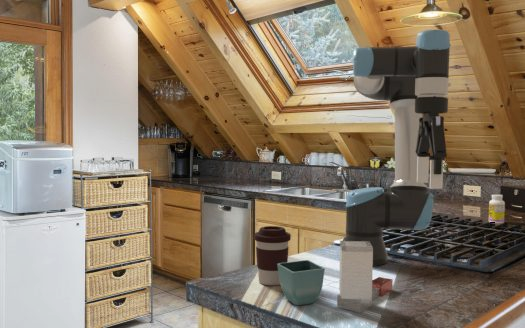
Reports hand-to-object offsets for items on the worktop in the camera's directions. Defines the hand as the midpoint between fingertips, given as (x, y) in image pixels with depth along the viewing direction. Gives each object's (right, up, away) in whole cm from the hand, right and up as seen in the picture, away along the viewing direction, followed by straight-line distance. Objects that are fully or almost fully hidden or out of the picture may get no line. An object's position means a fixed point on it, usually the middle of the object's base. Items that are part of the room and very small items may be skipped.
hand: (428, 185), depth 125 cm
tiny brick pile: (-14, -28, +4) cm, 32 cm away
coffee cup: (-38, -27, +17) cm, 50 cm away
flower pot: (-31, -29, +1) cm, 42 cm away
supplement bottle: (+68, -22, +114) cm, 135 cm away
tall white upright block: (-18, -26, -2) cm, 32 cm away
